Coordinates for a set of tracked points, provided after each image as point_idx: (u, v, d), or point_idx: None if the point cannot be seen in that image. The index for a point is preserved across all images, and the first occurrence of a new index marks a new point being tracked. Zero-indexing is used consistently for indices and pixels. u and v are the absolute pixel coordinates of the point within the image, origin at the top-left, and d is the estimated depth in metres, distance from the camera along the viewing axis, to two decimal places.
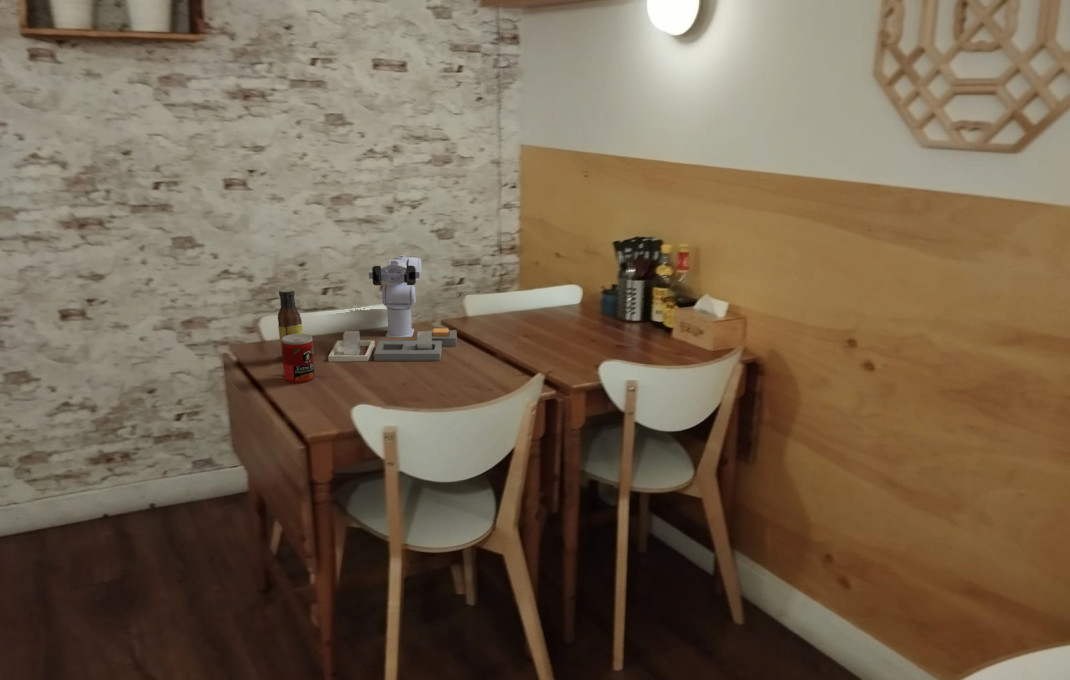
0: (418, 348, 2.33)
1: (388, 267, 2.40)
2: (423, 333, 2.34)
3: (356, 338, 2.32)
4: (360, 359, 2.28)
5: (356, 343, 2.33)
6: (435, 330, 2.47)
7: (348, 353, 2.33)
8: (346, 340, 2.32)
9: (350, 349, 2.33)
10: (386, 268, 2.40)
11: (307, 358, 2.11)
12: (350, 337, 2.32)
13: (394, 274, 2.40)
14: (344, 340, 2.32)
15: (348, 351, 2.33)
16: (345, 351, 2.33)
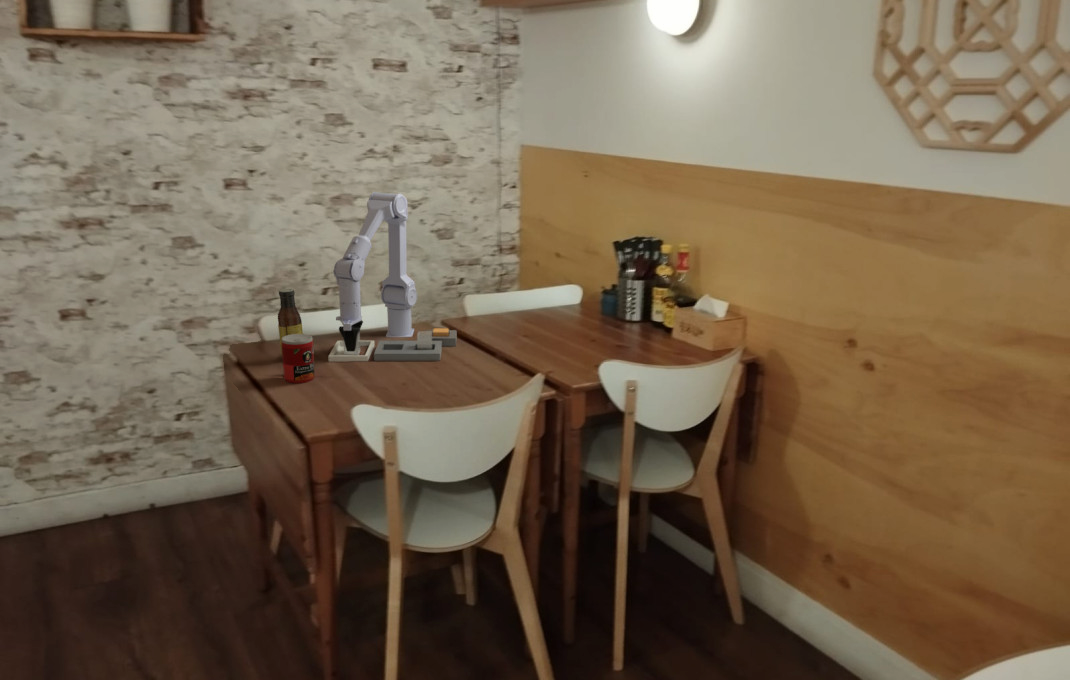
0: (418, 348, 2.33)
1: None
2: (423, 333, 2.34)
3: None
4: (360, 359, 2.28)
5: (356, 343, 2.33)
6: (435, 330, 2.47)
7: (348, 353, 2.33)
8: None
9: None
10: None
11: (307, 358, 2.11)
12: None
13: None
14: None
15: (348, 351, 2.33)
16: (345, 351, 2.33)
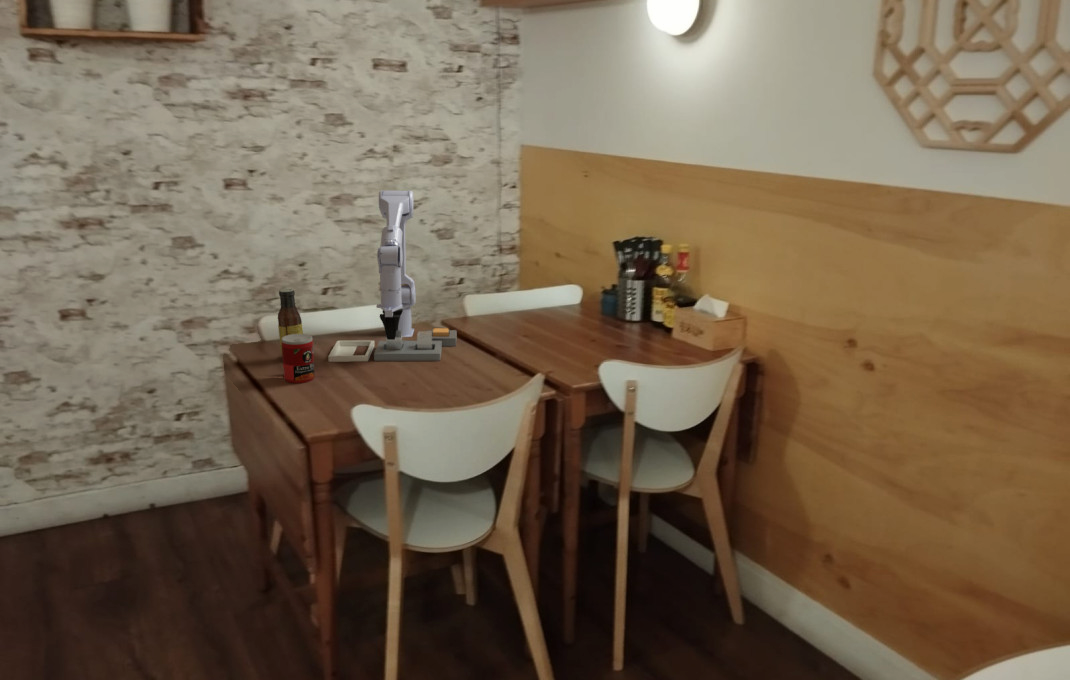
0: (418, 348, 2.33)
1: None
2: (423, 333, 2.34)
3: (399, 340, 2.31)
4: (360, 359, 2.28)
5: (399, 345, 2.32)
6: (435, 330, 2.47)
7: None
8: (389, 342, 2.31)
9: None
10: None
11: (307, 358, 2.11)
12: None
13: None
14: (387, 342, 2.31)
15: None
16: None
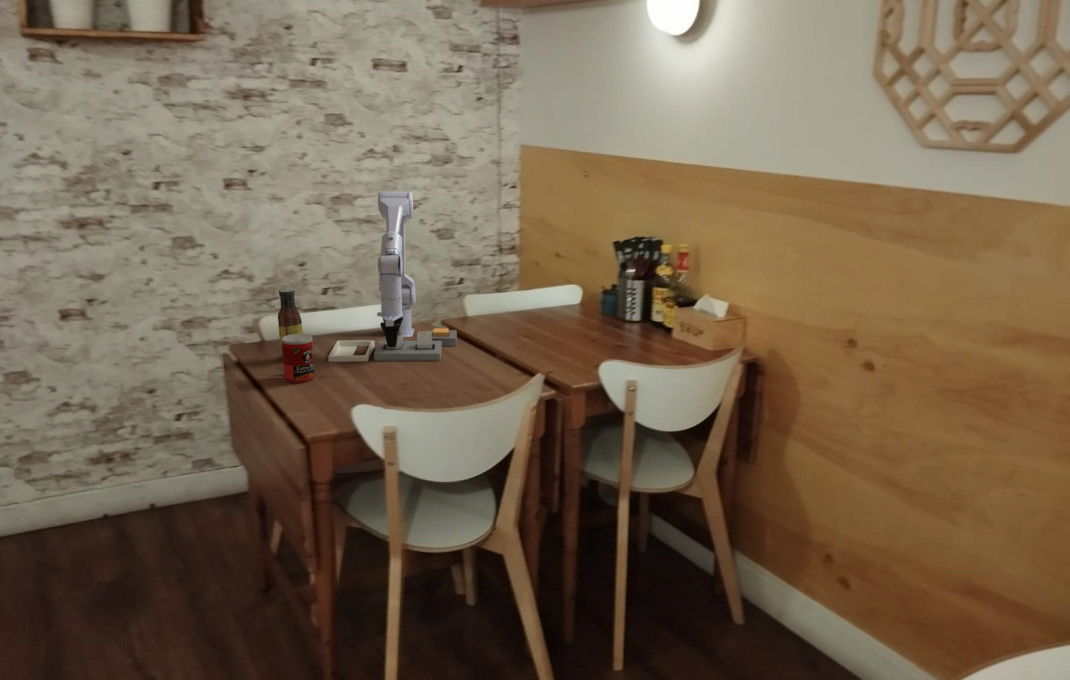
0: (418, 348, 2.33)
1: None
2: (423, 333, 2.34)
3: (399, 339, 2.32)
4: (360, 359, 2.28)
5: (399, 344, 2.32)
6: (435, 330, 2.47)
7: None
8: None
9: (393, 349, 2.33)
10: None
11: (307, 358, 2.11)
12: None
13: None
14: None
15: None
16: None
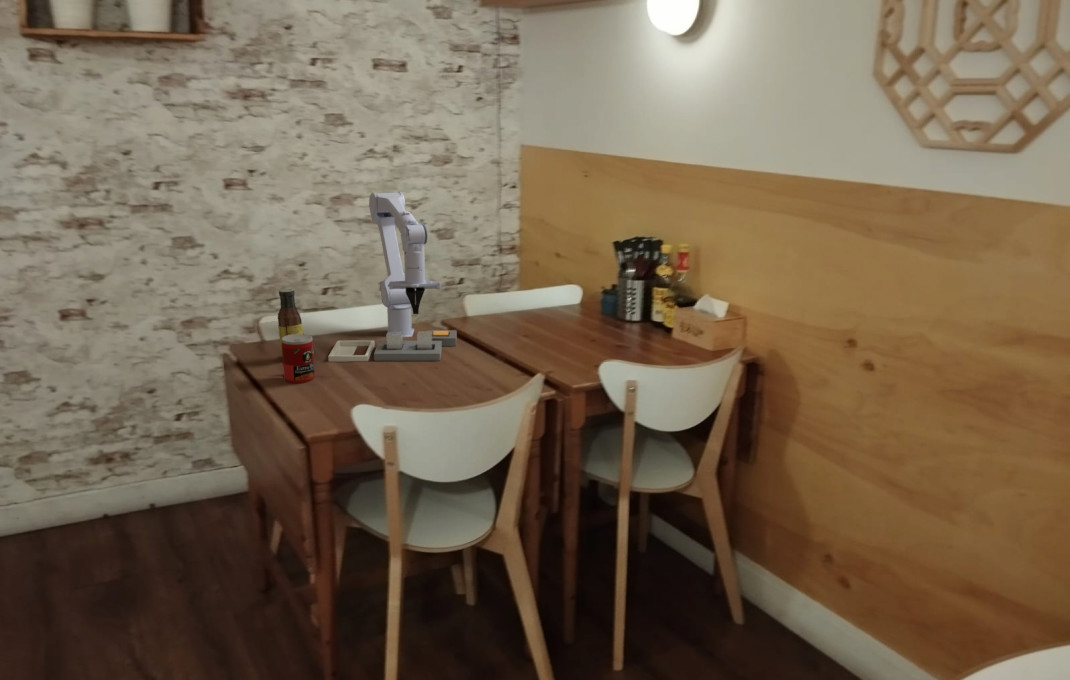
0: (418, 348, 2.33)
1: None
2: (423, 333, 2.34)
3: (399, 339, 2.32)
4: (360, 359, 2.28)
5: (399, 344, 2.32)
6: (435, 332, 2.47)
7: None
8: (390, 341, 2.32)
9: (393, 349, 2.33)
10: None
11: (307, 358, 2.11)
12: (393, 337, 2.32)
13: (415, 288, 2.38)
14: (387, 341, 2.32)
15: None
16: None
